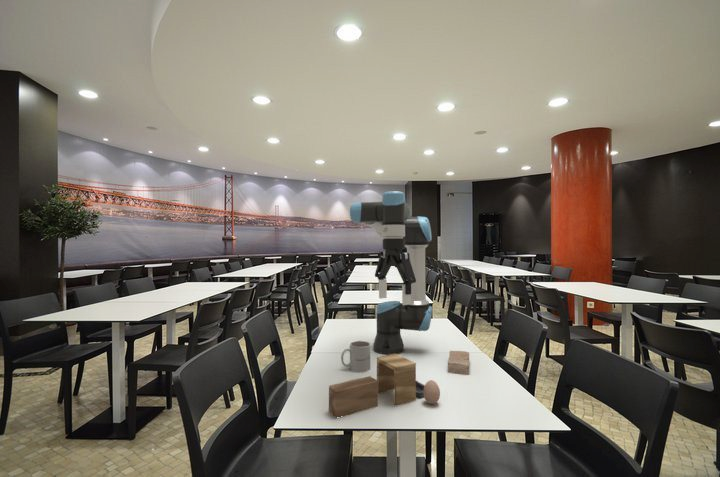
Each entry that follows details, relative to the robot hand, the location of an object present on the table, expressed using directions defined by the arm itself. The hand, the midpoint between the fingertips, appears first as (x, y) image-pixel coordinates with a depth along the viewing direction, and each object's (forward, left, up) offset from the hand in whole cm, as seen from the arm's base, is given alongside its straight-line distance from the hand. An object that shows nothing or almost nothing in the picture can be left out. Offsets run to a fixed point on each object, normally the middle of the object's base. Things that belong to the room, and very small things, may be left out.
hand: (394, 301), depth 112 cm
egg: (+9, +9, -33) cm, 35 cm away
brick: (-10, +41, -33) cm, 54 cm away
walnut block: (-1, -15, -33) cm, 36 cm away
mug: (-30, +3, -33) cm, 45 cm away
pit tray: (-1, +10, -33) cm, 34 cm away
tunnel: (-1, +2, -33) cm, 33 cm away
